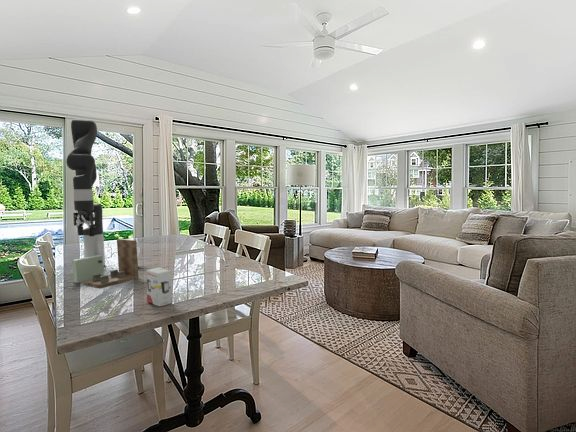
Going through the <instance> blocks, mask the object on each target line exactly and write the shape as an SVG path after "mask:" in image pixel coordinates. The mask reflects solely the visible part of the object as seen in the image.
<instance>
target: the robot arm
mask: <svg viewBox="0 0 576 432" xmlns="http://www.w3.org/2000/svg"><path fill="white" fill-rule="evenodd" d="M70 130H71V137H72V144H73V150H71V152H70V153H69V154H68V155H67V158H66V161H65V162H66V166H67V168H68V169H70V170H72V171H75V172H74V173H75V176H73V178H72V182H73V183H72V184H73V185H72V186H73V193H72V194H73V196H72V197H73V208H74V211H75V212H73V216H72V217H73V226H75V227H76V228H77V235H78V236H82V240H83V258H86V257H91V256H97V255H102V258H103V267H105V266H106V255H105V241H104V240H105V239H104V227H103V224H104V223H103V206H102V204H101V203H95V202H94V200H95V199H94V192H93V185H94V184H95V182H96V180H97V165H96V161H95V157H94V156H93V155H92V149H93V145H94V143H95V141H96V139H97V136H98V127H97V123H96V122H95V120H91V119H78V118H77V119H72V120H71V123H70ZM85 224H86V225H87V227H86V228H84V225H85Z"/></svg>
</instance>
